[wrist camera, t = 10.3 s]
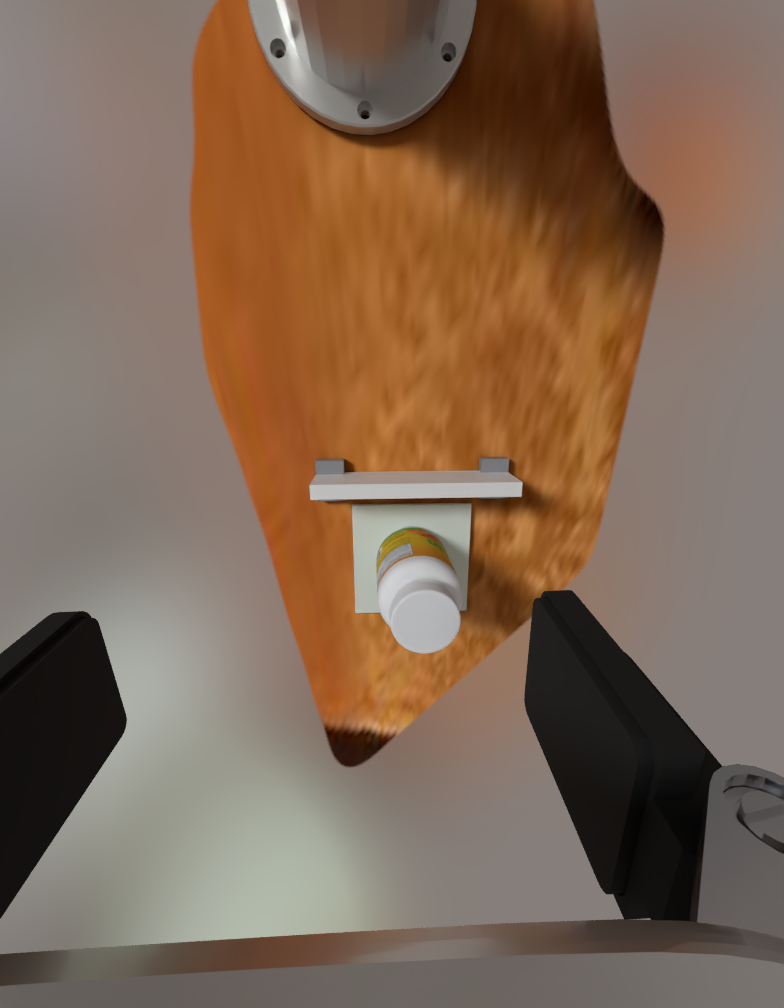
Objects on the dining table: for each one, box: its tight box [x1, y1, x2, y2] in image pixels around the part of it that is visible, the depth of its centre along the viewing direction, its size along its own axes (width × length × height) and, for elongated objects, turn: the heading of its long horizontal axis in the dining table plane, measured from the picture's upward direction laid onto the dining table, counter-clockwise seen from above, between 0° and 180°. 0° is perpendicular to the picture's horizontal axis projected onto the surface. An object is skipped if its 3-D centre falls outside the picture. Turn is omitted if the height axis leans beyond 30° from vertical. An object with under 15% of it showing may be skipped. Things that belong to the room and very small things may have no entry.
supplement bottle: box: [376, 526, 463, 653], centre depth 29 cm, size 5×5×10 cm
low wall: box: [310, 457, 523, 501], centre depth 30 cm, size 3×14×4 cm, turn 90°
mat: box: [352, 503, 472, 613], centre depth 34 cm, size 9×9×1 cm
